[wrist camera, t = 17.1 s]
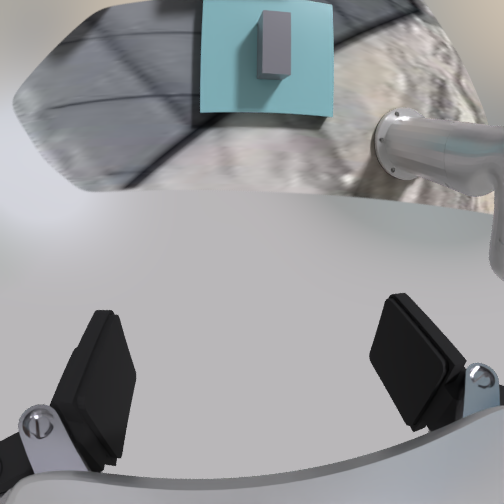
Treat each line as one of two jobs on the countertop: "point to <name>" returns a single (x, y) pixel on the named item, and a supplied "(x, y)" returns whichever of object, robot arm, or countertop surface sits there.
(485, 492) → the robot arm
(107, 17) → the countertop surface
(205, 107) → the lid
